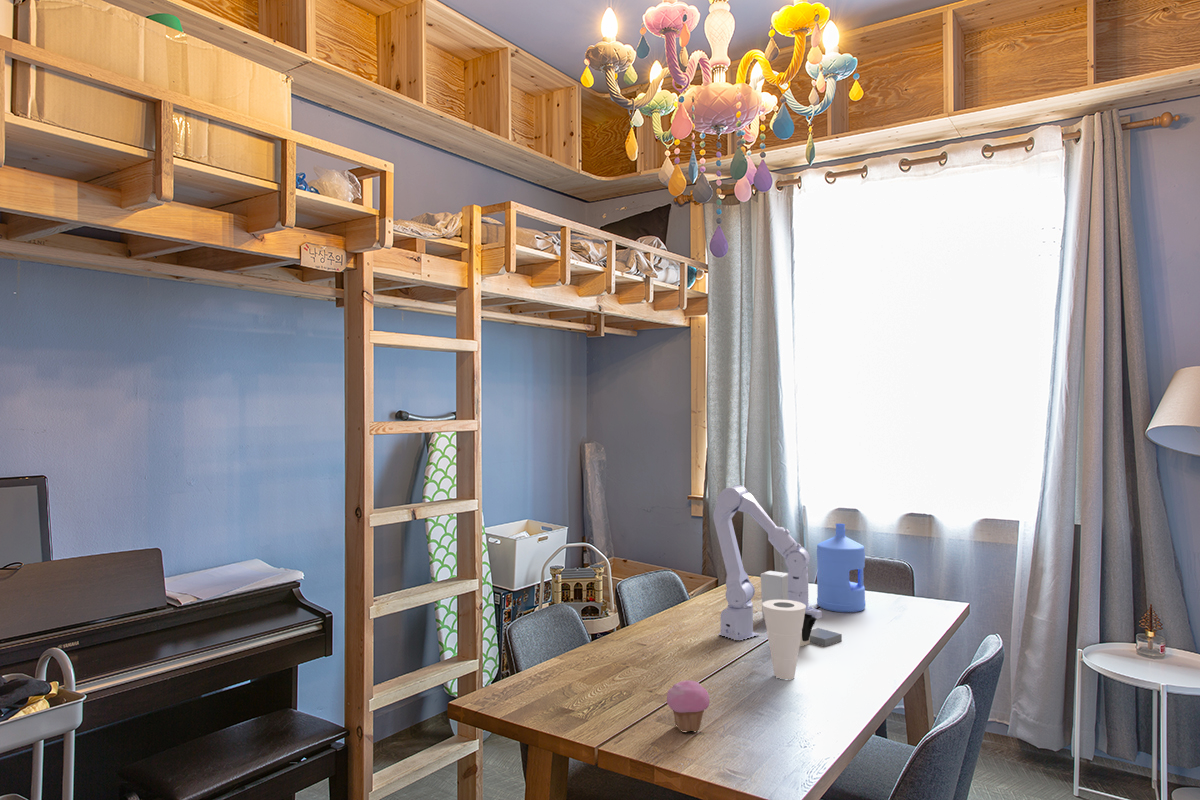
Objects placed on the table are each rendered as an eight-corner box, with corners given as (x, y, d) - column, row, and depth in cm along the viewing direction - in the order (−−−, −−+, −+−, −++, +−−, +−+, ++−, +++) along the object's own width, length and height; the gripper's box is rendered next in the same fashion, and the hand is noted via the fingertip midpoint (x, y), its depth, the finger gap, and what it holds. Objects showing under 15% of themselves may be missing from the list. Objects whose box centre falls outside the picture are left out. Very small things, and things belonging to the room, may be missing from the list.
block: (800, 646, 212) (799, 629, 212) (787, 643, 215) (786, 625, 216) (809, 643, 215) (809, 626, 215) (796, 640, 218) (796, 622, 218)
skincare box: (793, 620, 239) (793, 573, 239) (783, 624, 235) (782, 576, 235) (771, 615, 245) (770, 569, 245) (760, 618, 241) (760, 572, 241)
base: (825, 646, 212) (825, 639, 212) (801, 639, 218) (801, 632, 218) (841, 641, 217) (841, 634, 217) (818, 634, 223) (818, 627, 223)
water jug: (816, 611, 249) (816, 526, 250) (817, 599, 264) (816, 520, 265) (866, 614, 245) (865, 528, 245) (864, 602, 260) (863, 521, 260)
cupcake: (705, 721, 162) (705, 674, 162) (712, 738, 153) (712, 689, 153) (664, 721, 161) (664, 675, 162) (669, 739, 153) (669, 690, 153)
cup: (775, 686, 182) (775, 612, 182) (755, 671, 192) (754, 601, 192) (814, 682, 184) (814, 608, 185) (792, 667, 195) (792, 598, 195)
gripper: (768, 588, 219) (769, 635, 218) (810, 597, 207) (811, 647, 207) (784, 584, 223) (784, 630, 223) (826, 594, 212) (826, 642, 211)
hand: (798, 638), depth 215 cm, fingers closed on block, 4 cm apart
